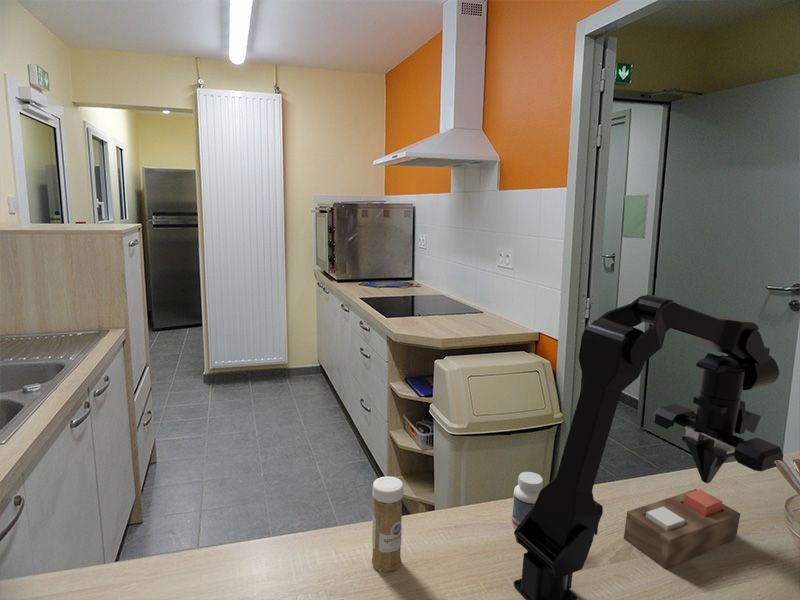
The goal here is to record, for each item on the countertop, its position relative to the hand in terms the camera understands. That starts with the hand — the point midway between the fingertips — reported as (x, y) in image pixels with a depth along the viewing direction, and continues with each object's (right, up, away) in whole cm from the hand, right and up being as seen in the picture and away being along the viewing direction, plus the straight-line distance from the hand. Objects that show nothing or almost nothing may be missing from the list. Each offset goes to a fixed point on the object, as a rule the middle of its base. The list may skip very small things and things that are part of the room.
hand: (706, 482), depth 91 cm
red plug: (0, -8, +2) cm, 8 cm away
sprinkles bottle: (-53, -10, -7) cm, 55 cm away
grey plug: (-8, -9, -2) cm, 13 cm away
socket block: (-4, -10, 0) cm, 10 cm away
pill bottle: (-29, -8, +3) cm, 31 cm away
